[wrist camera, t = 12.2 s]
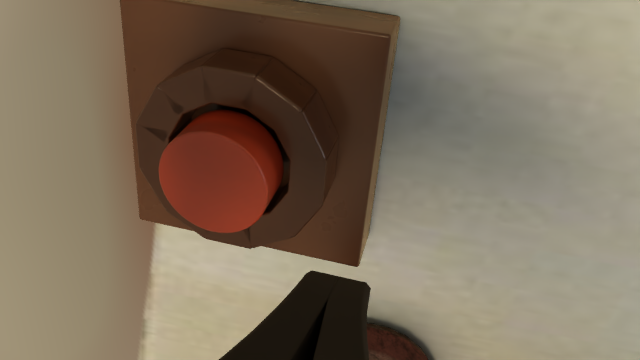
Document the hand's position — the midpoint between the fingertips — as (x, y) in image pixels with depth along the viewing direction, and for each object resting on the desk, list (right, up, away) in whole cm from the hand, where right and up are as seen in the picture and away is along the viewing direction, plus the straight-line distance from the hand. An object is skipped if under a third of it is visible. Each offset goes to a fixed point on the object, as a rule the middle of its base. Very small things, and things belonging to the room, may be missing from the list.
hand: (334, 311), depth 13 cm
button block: (-2, +5, +10) cm, 11 cm away
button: (-3, +4, +7) cm, 8 cm away
